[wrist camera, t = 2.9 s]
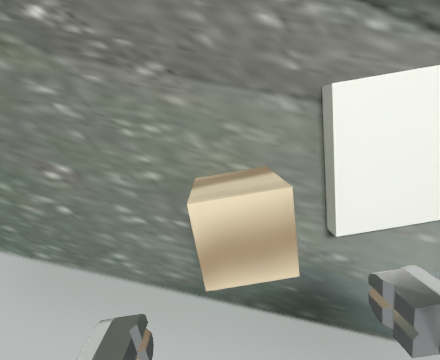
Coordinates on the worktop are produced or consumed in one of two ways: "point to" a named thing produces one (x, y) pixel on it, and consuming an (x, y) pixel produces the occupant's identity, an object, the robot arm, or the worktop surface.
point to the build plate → (382, 151)
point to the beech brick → (244, 228)
